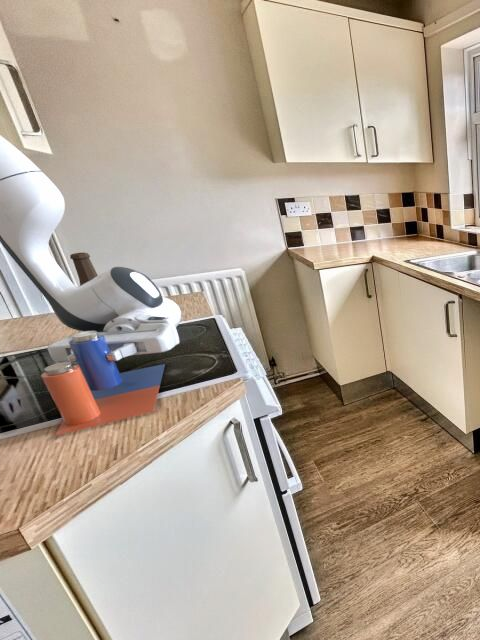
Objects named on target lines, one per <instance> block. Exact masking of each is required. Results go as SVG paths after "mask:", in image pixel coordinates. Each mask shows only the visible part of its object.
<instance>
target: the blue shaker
mask: <svg viewBox="0 0 480 640" xmlns="http://www.w3.org/2000/svg"><path fill="white" fill-rule="evenodd" d="M71 336H72V339H73V340H71V341H69V345H70V347H71V349H72V352H73V354H74V356H75V358H76V360H77V363H78V364H77V365H78V366H80V368H81V370H82V373H83V375H84V377H85V379H86V381H87V383H88V386H89V388H90V390H92V391H99V390H105V389H109V388H112V387H115V386H117V385H119V384H120V383H122V381H123V380H122V377H121V375H120V373H121V372H120V371H119V368H118V365H117V363H116V361H108V360H107V359H108V358H107V357H106V353H107V352H109V351H110V349H109V346H108V344H107V341H106V339H105V337H104V335H102V334H98V332H97V331H85V332H84V331H79V332H77V333H74V334H73V335H71Z"/></svg>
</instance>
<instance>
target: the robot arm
mask: <svg viewBox="0 0 480 640" xmlns="http://www.w3.org/2000/svg"><path fill="white" fill-rule="evenodd" d="M65 210H66V201H65V198H64V196H63V194H62V192H61V191H60V189H59V188H58V187H57V185H56V184H55V183H54V182H53V181H52V180H51V179H50V178H49V177H48V175H46V174H45V173H44V172H43V171H42V169H40V167H38V166H37V165H36V164H35V163H34V162H33V161H32V160H31V159H30V158H29V157H27V155H25V154H24V153H23V152H22V151H21V150H20V149H18V148H17V147H16V146H15V145H14V144H12V143H11V142H10V141H9V140H8V139H6V138H5V137H4V136H3V135H1V134H0V244H1V245H2V247H3V248H4V249H5V251H6V252H7V253H8V255H9V256H10V257H11V259H13V261H14V262H15V263H16V264H17V265H18V267H19V268H20V269H21V270H22V272H23V273H24V274H25V275H26V276H27V277H28V279H29V280H30V281H31V282H32V283H33V285H34V286H35V287H36V289H38V291H39V292H40V294H42V296H43V297H44V298H45V299H46V300H47V302H48V304H49V306H50V307H51V310H52V311H53V312H54V314H55V317H57V318H58V320H59V321H60V322H61V323H62V324H63V325H64V326H66V327H67V328H70V329H73V330H76V331H78V332H85V331H97V332H98V334H102V335H104V337H105V339H106V341H107V344H108V346H109V349H110V351H109V352H107V353H106V357H107V358H108V359H107V360H108V361H115V362H116V361H120V360H121V359H123V358H126V357H129V356H130V357H131V356H139V355H149V354H159V353H160V354H161V353H165V352H168V351H170V350H172V349H174V347H176V346H177V345H179V344H180V337H179V333H178V330H177V327H178V326H179V324H180V323H181V320H182V311H181V308H180V307H179V305H178V304H177V303H176V302H175V301H174V300H172V299H170V298H168V297H166V296H162V295H163V294H162V293H161V291H160V288H158V286H157V285H156V284H155V282H154V281H153V280H151V279H150V277H148V276H147V275H146V274H144V273H142V272H140V271H138V270H136V269H132V268H129V267H125V266H113V267H112V268H110V269H109V270H106V271H104V272H102V273H100V274H98V276H97V277H95V278H94V279H92V280H90V281H88V282H86V283H85V284H83V285H81V286H80V285H79V286H77V285H75V284H74V283H73V282H72V281H71V278H69V277H68V275H67V274H66V272H65V271H64V270H63V269H62V268H61V266H60V265H59V264H58V263H57V261H56V260H55V259H54V257H53V256H52V255H51V253H50V248H49V245H50V239H51V237H52V235H53V233H54V231H55V230H56V228H57V227H58V225H59V224H60V223H61V221H62V219H63V217H64V214H65ZM103 329H104V330H103ZM102 330H103V332H99V331H102ZM71 340H73V339H72V335H70V336H67V337H64V338H61V339H59V340H57V341H55V342H52V343H50V344H49V345H47V352H48V354H49V356H50V358H51V360H52V361H53V362H54V363H62V362H72V364H73V365H78V363H77V360H76V358H75V356H74V354H73V352H72V349H71V347H70V345H69V341H71Z"/></svg>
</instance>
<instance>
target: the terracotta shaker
mask: <svg viewBox="0 0 480 640" xmlns="http://www.w3.org/2000/svg"><path fill="white" fill-rule="evenodd" d="M40 377H41V379H42V381H43V383H44V384H45V387H46V389H47V391H48V393H49V395H50V396H51V399H52V401H53V402H54V404H55V406H56V409H57V411H58V412H59V415H60V417H61V419H62V421H63V420H64V422H65V424H67V425H76V424H81V423H85V422H88V421H90V420H92V419H94V418H96V417H98V416H99V415H100V414H101V412H100V409H99V407H98V405H97V403H96V401H95V399H94V396H93V394H92V392H91V390H90V388H89V386H88V383H87V381H86V379H85V377H84V375H83V373H82V370H81V368H80V366H79V365H78V364H77V365H73V364H72V362H67V361H66V362H56V363H54V364H51V365H49V366H46V367H45V368H44V372H43V373H41V375H40Z"/></svg>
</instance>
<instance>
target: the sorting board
mask: <svg viewBox="0 0 480 640" xmlns="http://www.w3.org/2000/svg"><path fill="white" fill-rule="evenodd" d="M165 366H166V364H165V363H163V364H158V365H154V366H153V365H152V366H149V367H143V368H139V369H138V368H137V369H133V370H128V371H124V372H119V373H120V375H121V377H122V380H123V381H122V383H120V384H119V385H117V386H115V387H112V388H109V389H105V390H99V391H92V390H91V392H92V394H93V396H94V399H95V401H96V403H97V405H98V407H99V409H100V412H101V414H100V415H99V416H98V417H96V418H94V419H92V420H90V421H88V422H85V423H81V424H76V425H67V424H65V422H64V420H63V419H62V422H61V424H60V425H59V427H58V429H57V430H56V432H55V434H54V437H56V436H60V435H64V434H68V433H72V432H77V431H80V430H81V431H82V430H85V429H89V428H93V427H96V426H97V427H98V426H101V425H105V424H109V423H114V422H118V421H122V420H125V419H130V418H134V417H138V416H143V415H147V414H150V413H154V411H155V407H156V402H157V398H158V395H159V390H160V387H161V382H162V378H163V374H164V371H165Z"/></svg>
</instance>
